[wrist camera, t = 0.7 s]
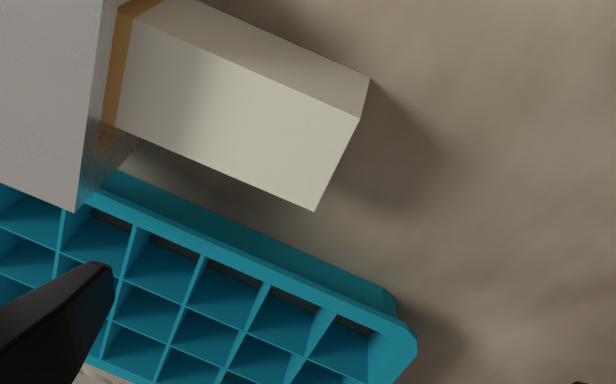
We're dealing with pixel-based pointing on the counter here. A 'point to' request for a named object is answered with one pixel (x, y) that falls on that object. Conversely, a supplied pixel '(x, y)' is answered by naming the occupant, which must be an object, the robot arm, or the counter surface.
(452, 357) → the counter surface
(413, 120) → the counter surface
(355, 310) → the ice cube tray
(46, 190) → the gray rectangular block
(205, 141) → the tan-tipped white bar
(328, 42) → the counter surface
